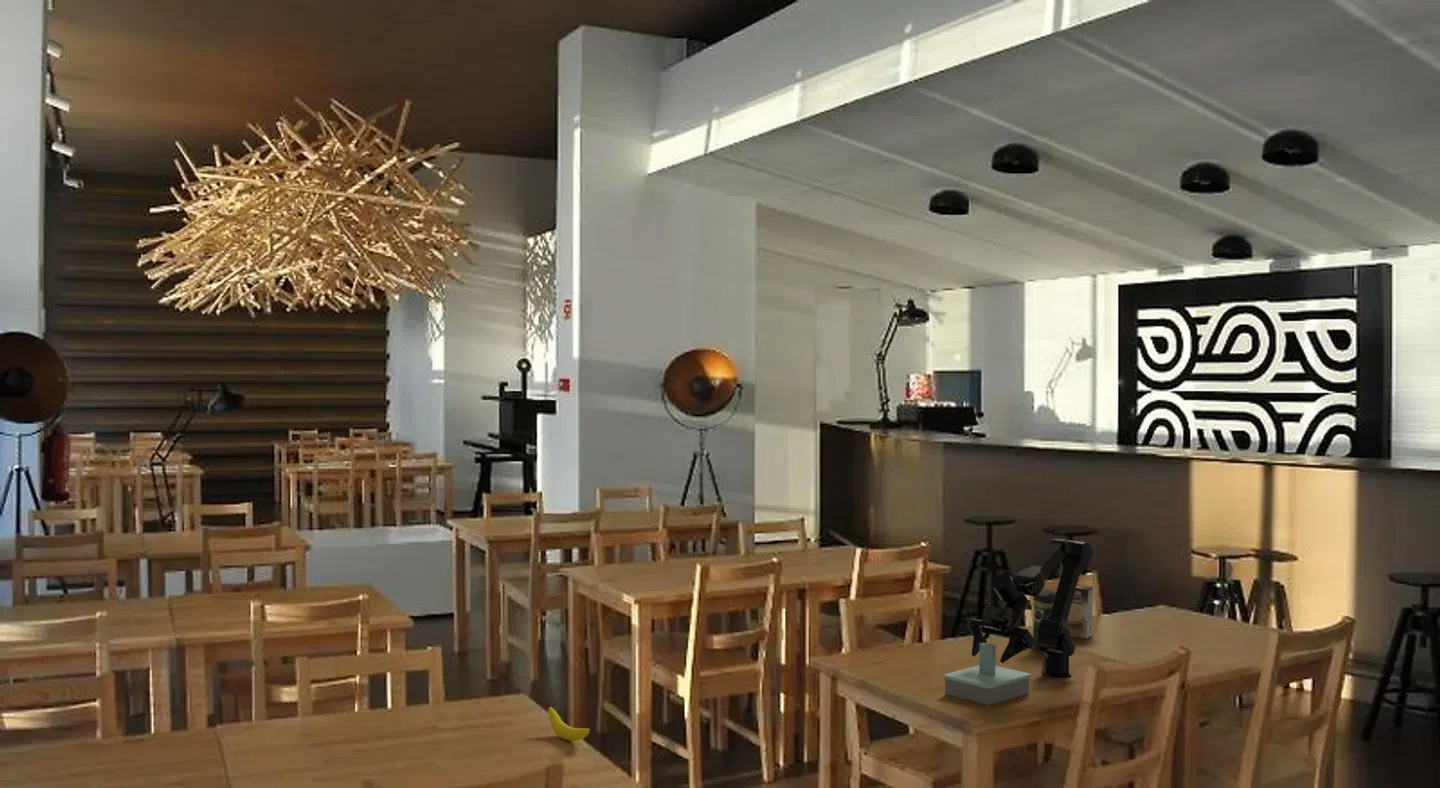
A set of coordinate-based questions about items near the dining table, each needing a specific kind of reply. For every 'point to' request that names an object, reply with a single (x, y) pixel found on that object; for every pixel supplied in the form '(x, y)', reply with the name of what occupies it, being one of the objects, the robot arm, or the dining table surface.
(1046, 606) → the coffee jar
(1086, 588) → the coffee box
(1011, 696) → the tub
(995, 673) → the lid
